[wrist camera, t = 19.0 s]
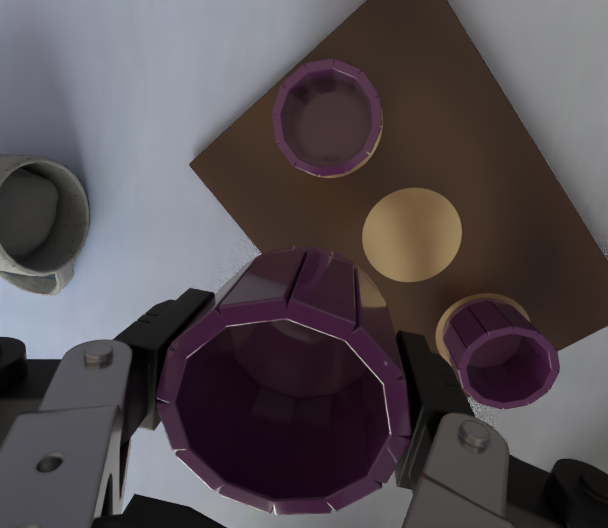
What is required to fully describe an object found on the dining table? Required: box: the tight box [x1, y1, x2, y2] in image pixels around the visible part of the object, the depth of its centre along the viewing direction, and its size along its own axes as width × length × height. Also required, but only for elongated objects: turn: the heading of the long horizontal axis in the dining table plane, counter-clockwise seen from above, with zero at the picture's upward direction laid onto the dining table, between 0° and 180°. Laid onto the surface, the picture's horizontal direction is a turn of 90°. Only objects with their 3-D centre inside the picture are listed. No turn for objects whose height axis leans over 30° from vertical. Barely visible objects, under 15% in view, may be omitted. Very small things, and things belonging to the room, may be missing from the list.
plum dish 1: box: [272, 58, 382, 177], centre depth 21 cm, size 6×6×4 cm
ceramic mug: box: [0, 154, 90, 296], centre depth 24 cm, size 11×8×8 cm
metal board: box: [189, 0, 608, 398], centre depth 25 cm, size 18×26×1 cm
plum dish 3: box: [442, 298, 560, 409], centre depth 24 cm, size 6×6×4 cm
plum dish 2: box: [156, 246, 413, 515], centre depth 10 cm, size 6×6×4 cm
